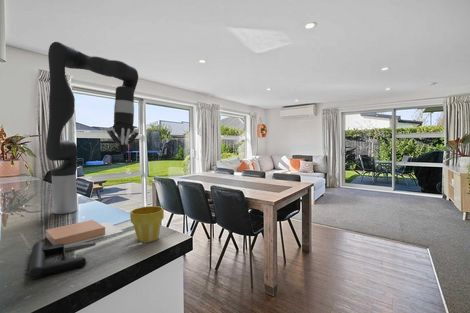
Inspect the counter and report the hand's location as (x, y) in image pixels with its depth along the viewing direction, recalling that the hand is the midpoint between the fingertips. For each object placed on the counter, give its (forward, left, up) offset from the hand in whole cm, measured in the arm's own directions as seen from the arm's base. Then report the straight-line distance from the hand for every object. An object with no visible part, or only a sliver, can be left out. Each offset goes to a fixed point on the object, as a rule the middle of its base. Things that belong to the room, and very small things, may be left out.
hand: (122, 153), depth 100 cm
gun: (+24, -27, -28) cm, 46 cm away
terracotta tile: (+10, -14, -26) cm, 31 cm away
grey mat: (+10, -17, -28) cm, 34 cm away
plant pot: (+29, -5, -28) cm, 41 cm away
